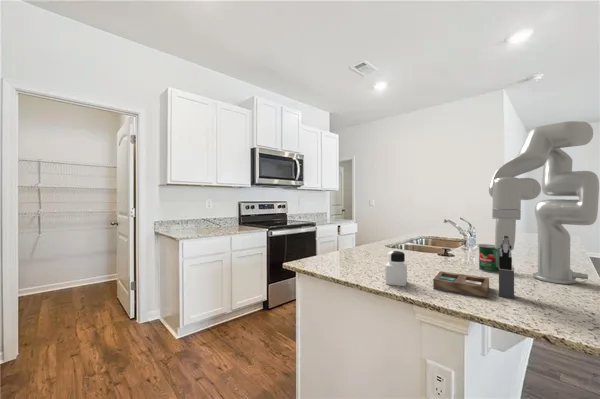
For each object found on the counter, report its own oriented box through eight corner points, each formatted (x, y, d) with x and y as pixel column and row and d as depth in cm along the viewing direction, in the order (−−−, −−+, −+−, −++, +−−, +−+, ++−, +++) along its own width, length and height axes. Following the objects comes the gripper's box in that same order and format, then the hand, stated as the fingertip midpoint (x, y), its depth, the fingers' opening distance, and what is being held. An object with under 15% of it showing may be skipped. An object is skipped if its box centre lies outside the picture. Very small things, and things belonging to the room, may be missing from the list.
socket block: (489, 287, 100) (489, 276, 100) (487, 298, 90) (487, 286, 90) (440, 280, 110) (440, 270, 110) (433, 288, 99) (433, 278, 99)
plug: (513, 295, 93) (513, 265, 93) (514, 299, 89) (514, 268, 89) (499, 293, 95) (499, 263, 95) (498, 296, 92) (498, 266, 92)
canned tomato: (499, 269, 125) (499, 245, 125) (501, 273, 118) (501, 248, 118) (478, 267, 129) (478, 243, 129) (478, 271, 123) (478, 246, 123)
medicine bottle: (406, 281, 109) (406, 250, 108) (405, 286, 102) (405, 254, 102) (387, 279, 112) (387, 249, 111) (385, 284, 105) (385, 252, 105)
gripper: (493, 213, 101) (492, 260, 101) (491, 215, 87) (490, 269, 87) (519, 214, 97) (518, 263, 96) (521, 216, 83) (521, 273, 83)
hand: (505, 266), depth 92 cm, fingers open, 9 cm apart
